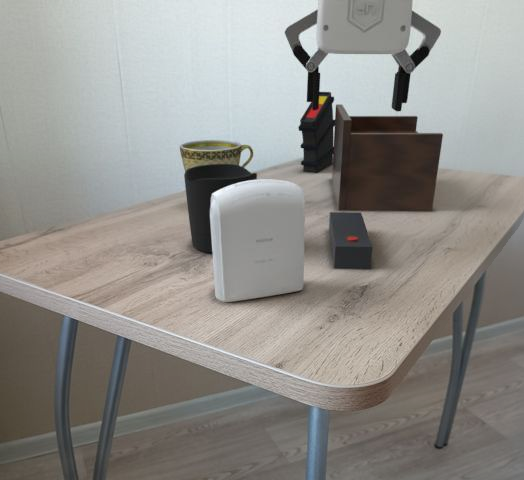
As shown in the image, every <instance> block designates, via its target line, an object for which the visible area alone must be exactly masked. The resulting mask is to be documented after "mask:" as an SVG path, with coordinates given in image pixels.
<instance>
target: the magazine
mask: <svg viewBox="0 0 524 480" xmlns="http://www.w3.org/2000/svg"><path fill="white" fill-rule="evenodd" d="M334 102H335V96H332V92H331V91H319V109H317V110H312V102H309V103H310V104H309V105H308V107H307V108H306V110H305V111H304V113H303V114H302V116H301V118H300V119H299V122H300V123H299V125H298V126H297V127H298V128H297V129H298V131H299V132H301V135H302V143H301V144H300V149H303V151H302V152H303V160H302V161H300V166H303V167H302V169H303V173H311V174H313V173H314V174H317V173H319V172H321V171H322V170H324V169H326V168H328V167H330V166H332V165H333V149H334V128H335V119H334V109H333V103H334Z"/></svg>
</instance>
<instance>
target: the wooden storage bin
mask: <svg viewBox="0 0 524 480" xmlns="http://www.w3.org/2000/svg"><path fill="white" fill-rule="evenodd" d="M334 120H335V126H334V130H333V136H334V137H333V147H334V149H333V163H332V169H331V171H332V172H331V182H332V187H333V193H334V197H335V201H336V202H335V203H336V206H337V212H339V211H340V212H346V211H347V212H432V211H433V206H434V199H435V191H436V187H437V186H436V185H437V179H438V171H439V167H440V166H439V165H440V159H441V153H442V152H441V150H442V143H443V138H444V134H443V132H418V131H417V127H418V125H417V124H418V116H417V115H349V113H348V111H347V110H346V108H345V107H344V105H343V104H341V103H340V104H335V115H334Z"/></svg>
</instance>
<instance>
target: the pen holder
mask: <svg viewBox="0 0 524 480" xmlns="http://www.w3.org/2000/svg"><path fill="white" fill-rule="evenodd" d="M242 166H243V165H240V164H239V165H234V164H211V165H202V166H196V167H192V168H189V169H187V170H186V172H185V171H184V176H183V177H184V187H185V194H186V204H187V211H188V212H187V213H188V221H189V229H190V236H191V244H192V247H193V248H195V250H197V251H199V252H200V253H204V254H208V255H209V254H210V255H213V254H212V239H211V224H210V207H211V196H212V193H214V192H216V191H218V190H220V189H222V188H224V187H227V186H229V185H232V184H236V183H239V182H243V181H249V180H257V179H258V173H257V172H250V171H249V170H248V169H247V168H246V167H245V168H243V167H242Z"/></svg>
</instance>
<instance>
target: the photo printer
mask: <svg viewBox="0 0 524 480" xmlns="http://www.w3.org/2000/svg"><path fill="white" fill-rule="evenodd" d="M210 224H211V239H212V254H211V255H212V267H213V281H214V294H215V298H216V299H217V300H218V301H220V302H222V303H223V302H224V303H233V302H240V301H247V300H253V299H260V298H266V297H272V296H277V295H278V296H279V295H284V294H289V293H294V292H299V291H302V290H303V288H304V282H305V281H304V280H305V232H306V231H305V228H306V227H305V225H306V201H305V195H304V191H303V188H302V187H301V186H299V185H298V184H296V183H293V182H290V181H286V180H281V179H274V178H273V179H272V178H271V179H270V178H261V179H260V178H259V179H258V178H257V180H249V181H243V182H239V183H236V184H232V185H229V186H227V187H224V188H222V189H220V190H218V191H216V192H214V193H212V196H211V207H210Z"/></svg>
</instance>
